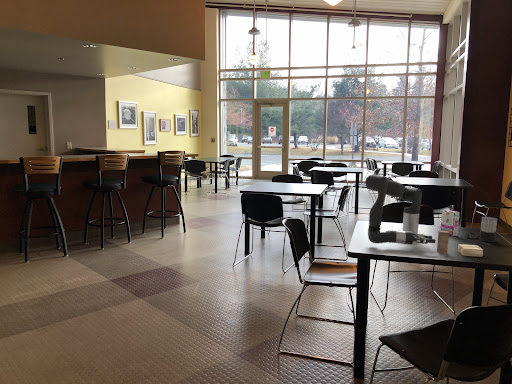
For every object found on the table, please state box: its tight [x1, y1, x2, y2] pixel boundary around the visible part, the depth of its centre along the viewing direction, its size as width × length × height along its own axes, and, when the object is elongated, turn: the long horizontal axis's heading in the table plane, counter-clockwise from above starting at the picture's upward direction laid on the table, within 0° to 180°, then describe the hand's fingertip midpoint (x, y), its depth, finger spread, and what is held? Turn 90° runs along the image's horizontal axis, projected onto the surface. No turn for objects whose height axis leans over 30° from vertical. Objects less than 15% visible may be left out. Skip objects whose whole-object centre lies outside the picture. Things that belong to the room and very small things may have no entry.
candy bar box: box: [440, 209, 461, 237], centre depth 284 cm, size 11×5×16 cm, turn 21°
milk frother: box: [465, 216, 498, 243], centre depth 271 cm, size 14×16×15 cm
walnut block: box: [436, 230, 450, 255], centre depth 236 cm, size 4×4×12 cm
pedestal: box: [457, 243, 484, 258], centre depth 235 cm, size 10×10×4 cm
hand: (433, 239), depth 237 cm, fingers open, 8 cm apart
